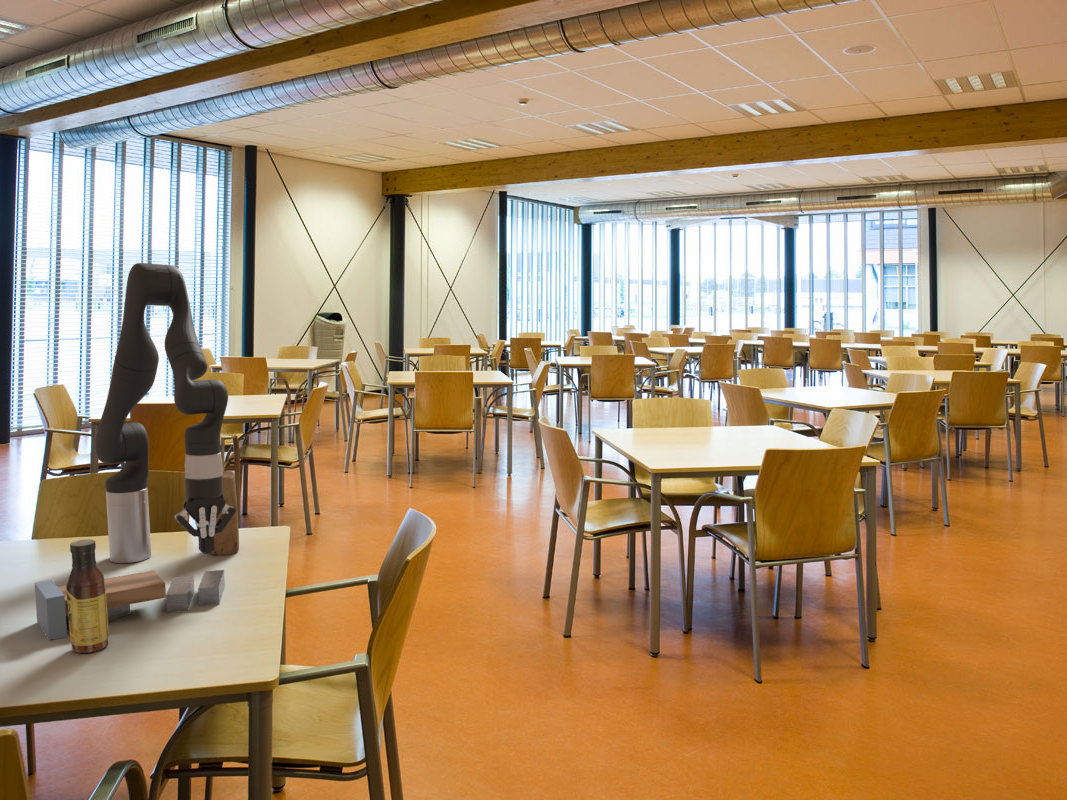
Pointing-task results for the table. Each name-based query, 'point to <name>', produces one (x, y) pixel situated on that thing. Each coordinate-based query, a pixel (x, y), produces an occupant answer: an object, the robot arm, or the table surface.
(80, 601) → the sauce bottle
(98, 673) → the table surface
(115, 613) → the bar loose
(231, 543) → the block
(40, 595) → the stop block
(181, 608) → the bar middle
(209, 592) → the bar rear
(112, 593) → the slab
